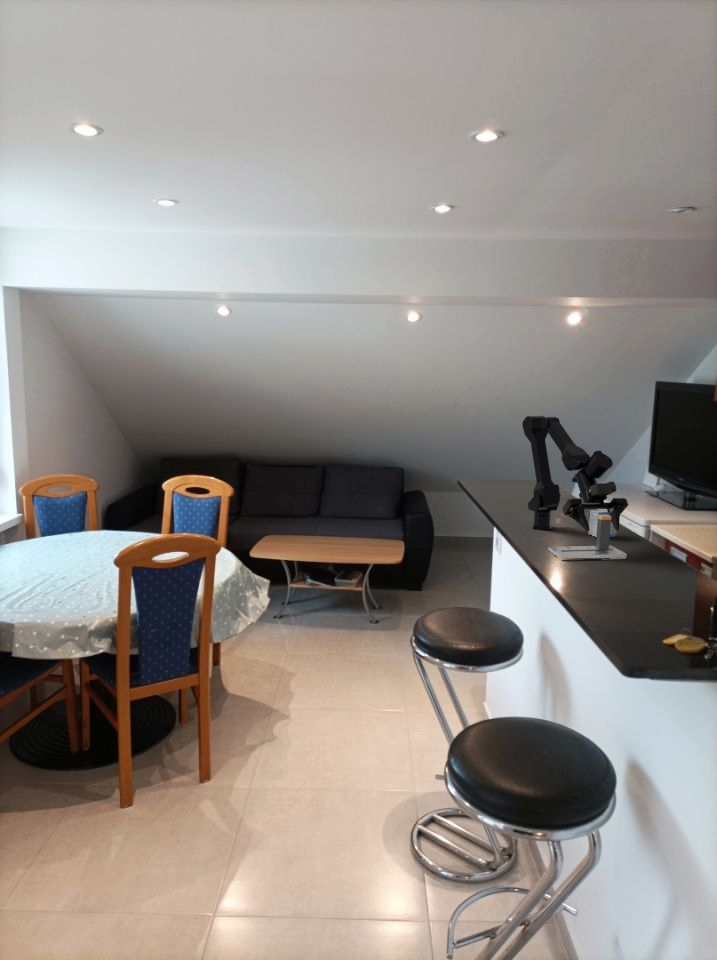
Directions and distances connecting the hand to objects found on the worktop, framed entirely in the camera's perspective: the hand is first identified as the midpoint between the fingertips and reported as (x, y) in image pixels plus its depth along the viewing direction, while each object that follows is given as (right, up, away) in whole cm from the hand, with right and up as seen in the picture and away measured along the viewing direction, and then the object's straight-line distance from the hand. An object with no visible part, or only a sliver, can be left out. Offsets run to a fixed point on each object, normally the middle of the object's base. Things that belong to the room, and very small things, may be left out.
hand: (603, 530), depth 192 cm
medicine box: (+8, -4, +23) cm, 25 cm away
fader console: (-5, -7, 0) cm, 9 cm away
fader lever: (0, -5, +1) cm, 5 cm away
